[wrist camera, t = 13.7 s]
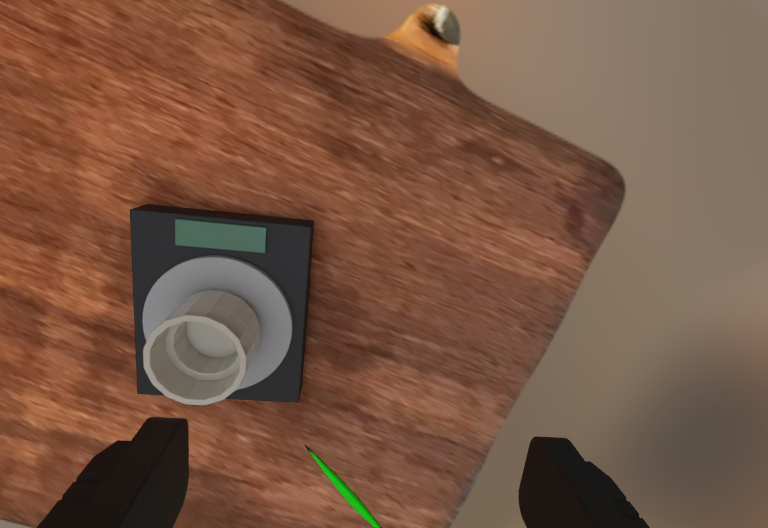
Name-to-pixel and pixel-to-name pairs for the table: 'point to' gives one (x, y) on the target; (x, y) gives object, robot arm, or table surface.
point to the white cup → (202, 348)
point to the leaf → (347, 493)
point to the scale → (227, 284)
